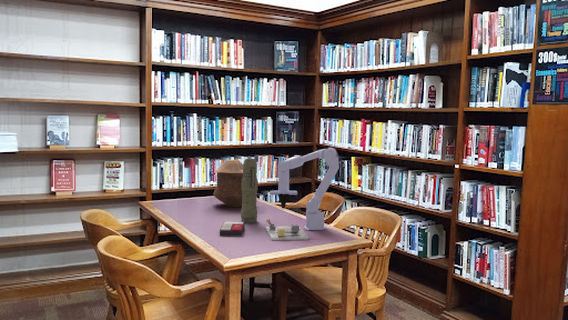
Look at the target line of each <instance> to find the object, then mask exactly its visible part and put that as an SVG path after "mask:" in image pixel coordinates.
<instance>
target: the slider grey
mask: <svg viewBox="0 0 568 320" xmlns="http://www.w3.org/2000/svg"><path fill="white" fill-rule="evenodd" d="M290 226H291V231H292V232H298V226H299V225H298V224H297V225H295V224H291V225H290Z"/></svg>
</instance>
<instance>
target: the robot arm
mask: <svg viewBox="0 0 568 320" xmlns="http://www.w3.org/2000/svg"><path fill="white" fill-rule="evenodd" d="M314 159H322V160H323V159H324V161H326V163H327V166H328V170H327V171H326V173H325V175H324V177H323V178H322V180H321V182H320V184H319V186H318V187H317V189H316V191H315V192H314V194H313V196H312V197H311V198H310V199H309V201H308V202H307V203H306V204H305V208H306V210H305V211H306V212H305V225H303V227H304V229H305V230H306V231H324V230H325V214H324V211H320V209H319V208H320V207H321V201H322V199H323V197H324V196H325V193H326V191H328V189H329V187H330V185H331V183H332V181H333V180H334V177H335V176H336V174H337V172H338V170H339V168H340V165H339V164H340V163H339V154H338V152H337V150H336V148H334V147H328V148H322V149H318V150H316V151H314V152H311V153H307V154H305V155H299V154H298V155H297V154H295V155H293V156H292V157H289V158H285V159H284V160H281V161H280V162H279V163H278V164H277V170H278V181H277V183H278V190H270V191H269V195H270V196H278V199H279V201H280V205H281V208H282V209H285V208H286V204H287V201H288V200H289V197H290V196H292V195H293V196H298V191H297V190H290V170H293V169H296V168H299V167H301V166H303V165H304V163H305V162H308V161H312V160H314Z"/></svg>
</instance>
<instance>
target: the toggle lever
mask: <svg viewBox="0 0 568 320" xmlns="http://www.w3.org/2000/svg"><path fill="white" fill-rule="evenodd" d="M266 223H268V225H270V226H273V225H272V224H273V223H272V222H271V219H269V218H268V219H266Z"/></svg>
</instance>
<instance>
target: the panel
mask: <svg viewBox="0 0 568 320" xmlns="http://www.w3.org/2000/svg"><path fill="white" fill-rule="evenodd" d="M268 225H269V224H268ZM272 225H273V226H270V225H269V226H265V231H266V232H267V234H268V237H269V238H270V240H271V241H306V240H307V241H308V240H309V236H308V234H306V232H305V230H303V229H302V228H301V226H300V225H298V224H294V225H298V232H292V231H291V225H290V226H287V225H284V226H283V225H282V226H281V225H279V226H276V225H275V223H272ZM280 228H284V230H285V236H278V235H277V233H278V229H280Z"/></svg>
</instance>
